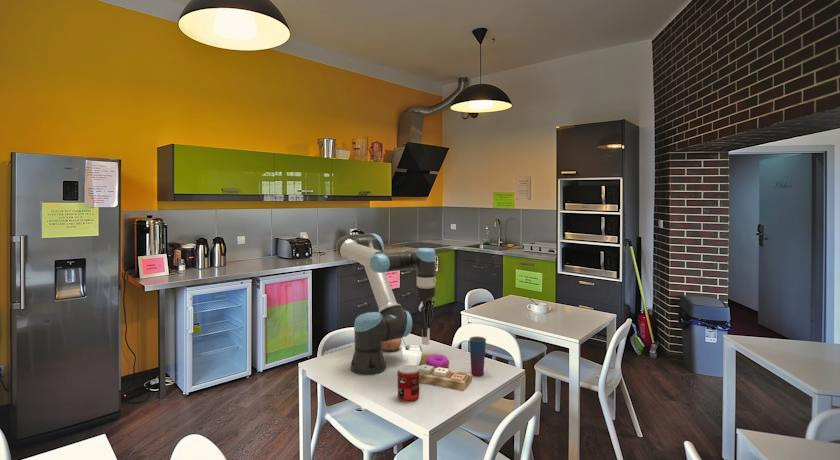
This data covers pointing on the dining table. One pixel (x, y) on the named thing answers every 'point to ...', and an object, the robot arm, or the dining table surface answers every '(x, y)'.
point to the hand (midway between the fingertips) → (425, 343)
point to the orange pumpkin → (391, 344)
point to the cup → (477, 355)
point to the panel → (446, 380)
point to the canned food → (408, 383)
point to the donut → (437, 361)
